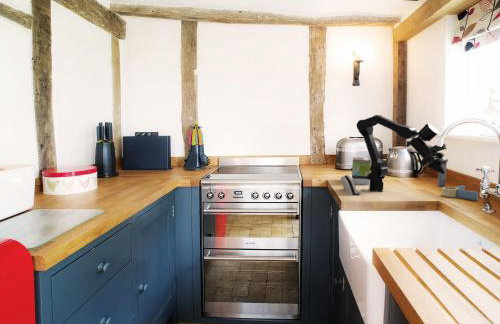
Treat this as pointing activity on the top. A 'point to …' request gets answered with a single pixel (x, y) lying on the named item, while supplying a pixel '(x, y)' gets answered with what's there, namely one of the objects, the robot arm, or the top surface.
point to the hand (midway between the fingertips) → (445, 172)
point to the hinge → (349, 185)
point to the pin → (441, 176)
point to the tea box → (360, 170)
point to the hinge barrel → (459, 193)
